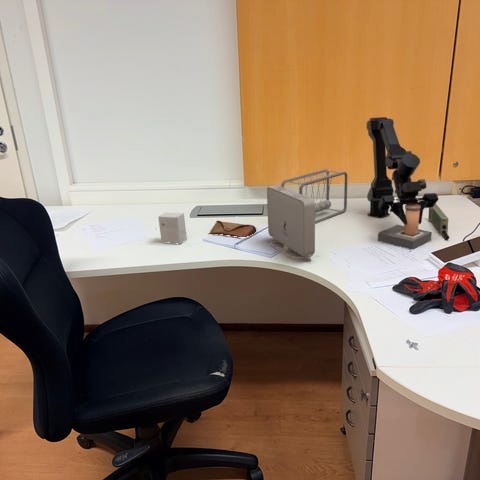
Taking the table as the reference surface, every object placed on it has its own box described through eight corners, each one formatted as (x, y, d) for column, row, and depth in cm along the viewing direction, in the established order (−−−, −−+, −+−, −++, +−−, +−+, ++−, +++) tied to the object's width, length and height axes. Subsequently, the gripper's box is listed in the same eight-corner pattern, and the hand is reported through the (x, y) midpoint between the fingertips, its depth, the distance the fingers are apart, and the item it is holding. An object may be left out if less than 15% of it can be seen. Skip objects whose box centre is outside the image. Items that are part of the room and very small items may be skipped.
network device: (263, 240, 162) (260, 186, 155) (284, 236, 165) (283, 183, 158) (298, 264, 140) (297, 202, 133) (322, 258, 143) (322, 198, 136)
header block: (377, 240, 155) (378, 231, 154) (396, 232, 162) (397, 223, 161) (412, 249, 146) (413, 239, 145) (430, 240, 153) (431, 230, 152)
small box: (187, 239, 168) (184, 212, 164) (180, 244, 163) (177, 217, 159) (168, 238, 170) (165, 211, 167) (161, 243, 165) (157, 216, 162)
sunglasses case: (205, 234, 172) (209, 217, 173) (214, 237, 178) (217, 221, 179) (246, 239, 164) (250, 222, 165) (254, 243, 170) (257, 226, 171)
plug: (399, 242, 152) (402, 206, 148) (407, 239, 155) (410, 202, 150) (412, 246, 148) (415, 208, 144) (420, 242, 151) (423, 205, 147)
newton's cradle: (301, 229, 172) (300, 184, 166) (281, 224, 179) (280, 180, 173) (347, 211, 190) (348, 170, 184) (327, 207, 198) (327, 168, 192)
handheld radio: (436, 219, 175) (452, 241, 152) (427, 219, 175) (442, 241, 152) (437, 203, 172) (454, 222, 149) (428, 203, 173) (443, 222, 150)
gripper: (382, 172, 147) (392, 214, 141) (438, 169, 147) (450, 210, 141) (374, 190, 157) (382, 229, 151) (426, 187, 157) (437, 226, 151)
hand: (413, 223), depth 148 cm, fingers closed on plug, 4 cm apart
